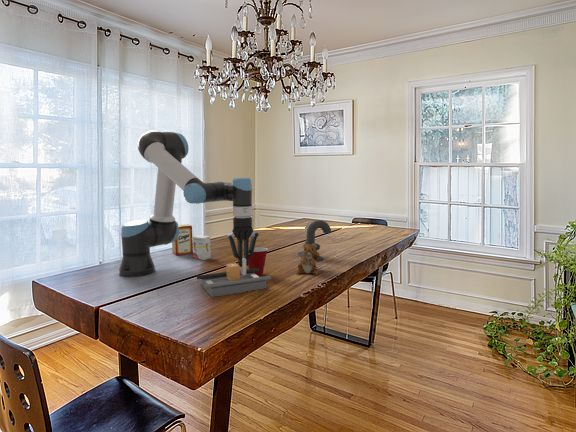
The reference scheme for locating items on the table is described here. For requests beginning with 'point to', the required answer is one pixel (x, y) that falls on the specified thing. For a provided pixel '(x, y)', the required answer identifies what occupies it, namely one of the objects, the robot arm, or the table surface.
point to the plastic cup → (258, 260)
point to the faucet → (311, 235)
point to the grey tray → (232, 281)
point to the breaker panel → (232, 288)
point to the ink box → (201, 247)
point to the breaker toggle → (233, 271)
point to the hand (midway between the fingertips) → (243, 274)
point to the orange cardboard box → (183, 241)
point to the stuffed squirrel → (308, 260)
